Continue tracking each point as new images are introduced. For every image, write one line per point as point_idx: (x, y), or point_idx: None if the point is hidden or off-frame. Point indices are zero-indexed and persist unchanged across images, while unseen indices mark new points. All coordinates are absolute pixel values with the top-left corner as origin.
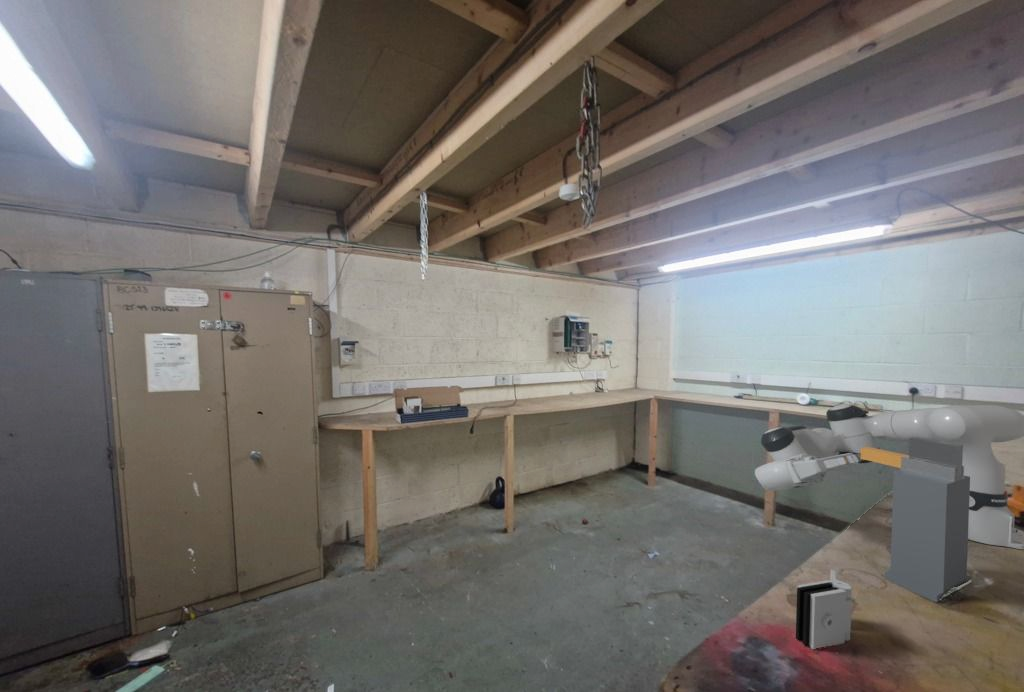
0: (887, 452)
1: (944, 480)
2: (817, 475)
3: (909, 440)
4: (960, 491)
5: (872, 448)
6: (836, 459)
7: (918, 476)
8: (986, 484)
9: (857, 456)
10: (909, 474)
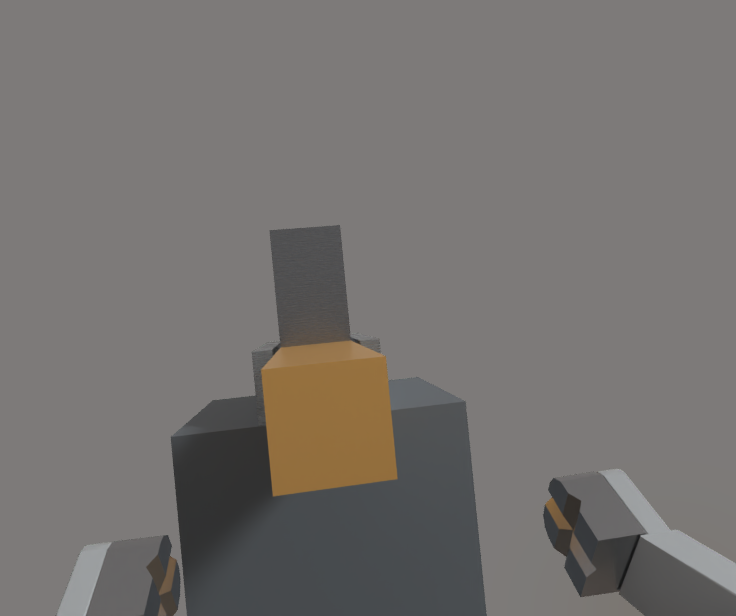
0: (334, 348)
1: None
2: None
3: (340, 240)
4: None
5: (303, 359)
6: (668, 535)
7: (429, 389)
8: None
9: (157, 612)
10: (440, 393)
